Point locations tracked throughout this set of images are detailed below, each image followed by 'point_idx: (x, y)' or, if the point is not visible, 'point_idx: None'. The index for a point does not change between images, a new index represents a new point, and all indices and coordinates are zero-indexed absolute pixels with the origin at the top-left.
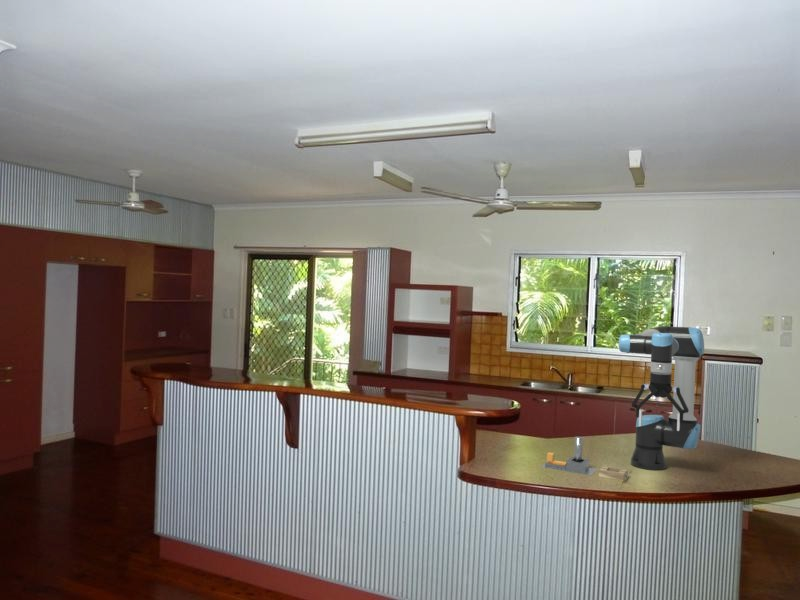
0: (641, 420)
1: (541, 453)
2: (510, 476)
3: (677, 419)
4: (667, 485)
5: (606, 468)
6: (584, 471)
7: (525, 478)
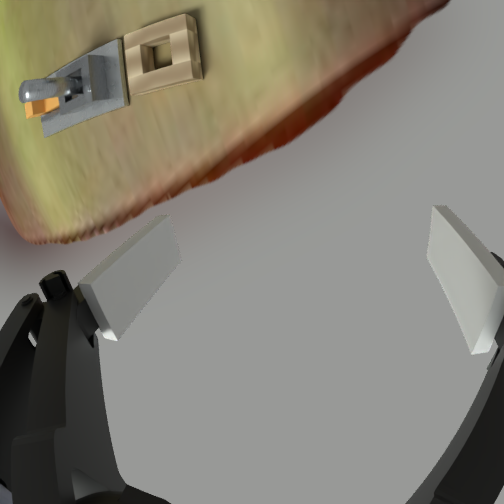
0: (156, 253)
1: (22, 33)
2: (48, 215)
3: (455, 313)
4: (312, 10)
5: (137, 57)
6: (105, 99)
7: (62, 209)
